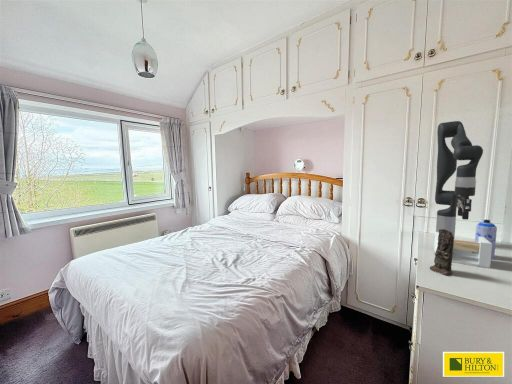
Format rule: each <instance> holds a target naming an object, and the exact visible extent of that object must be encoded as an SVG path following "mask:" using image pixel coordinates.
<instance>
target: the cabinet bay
mask: <svg viewBox="0 0 512 384" xmlns="http://www.w3.org/2000/svg"><path fill="white" fill-rule="evenodd" d="M438 236H439V232H436V231H435V232H434V246H433V247H434V248H433V249H434V250H433V254H434V255H435V253H436V250H437V246H438ZM478 243H480V249H479V252H473V251H466V250H459V249H453V255H452V264H453V263H454V264H460V265H461V264H462V265H466V266H467V265H468V266H474V267H480V268H487V269H491V260H492V259H491V251H492V243H490V242H489V241H488V240H487V239H485V238H484V237H480V236H479V239H478Z"/></svg>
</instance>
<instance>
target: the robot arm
mask: <svg viewBox="0 0 512 384" xmlns="http://www.w3.org/2000/svg"><path fill="white" fill-rule="evenodd" d="M446 138H447V139H449V138H452V139H451V140H450V145H451V147H452V148H453V151H452V150H451V149H450V148H449V146H448V145H447V143H446ZM483 154H484V149H483V147H482V146H480V145H477V144H476V145H473V144H472V141H471V140H470V139H469V138H468V136H467V132H466V129H465V127H464V124H463V123H462V121H459V120H454V121H445V122H440V123H439V124H438V126H437V157H436V158H437V160H436V182H435V183H436V187H435V193H434V202H435V204H436V205H442V206H449V207H447V208H444V209H442V208H441V209H439V210H437V211H436V226H435V232H439V229H446V230H448V231H450V232H451V233H452V235H453V237H454V239H455V236H456V223H457V222H456V221H457V216H459V217H461V219H462V220H469V216H470V215H469V214H470V212H472V199H471V198H470V197H474V196H475V195H476V189H477V187H476V186H477V185H476V184H477V179H476V177H477V176H476V174H477V167H478V165H479V162H480V160H481V158H482V156H483ZM458 161H469V162H468V163H466V164H461V165H457V164H458V163H457V162H458ZM455 172H456V173H455ZM454 174H456V175H455V180H454V190H444V189H443V188H444V186H445V184H446V183H447V182H448V180H449V179H450V178H451V177H452V176H453V175H454Z"/></svg>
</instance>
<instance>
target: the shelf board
mask: <svg viewBox="0 0 512 384" xmlns="http://www.w3.org/2000/svg"><path fill="white" fill-rule="evenodd" d="M453 249H459V250H466V251H473V252H479V249H480V243H478V242H475V241H469V240H461V239H455V238H454V246H453Z"/></svg>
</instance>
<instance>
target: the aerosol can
mask: <svg viewBox="0 0 512 384" xmlns="http://www.w3.org/2000/svg"><path fill="white" fill-rule="evenodd" d="M497 232H498V229H497V226H496V225H495V224H494V223H492V222H491V220H490V219H483V221H481V222H479V223H477V224H476V226H475V237H474V242H478V239H479V236H480V237H484V238H485V239H487V240H488V241H489V242H490V243H492V251H491V260H495V251H496V240H497Z"/></svg>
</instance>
